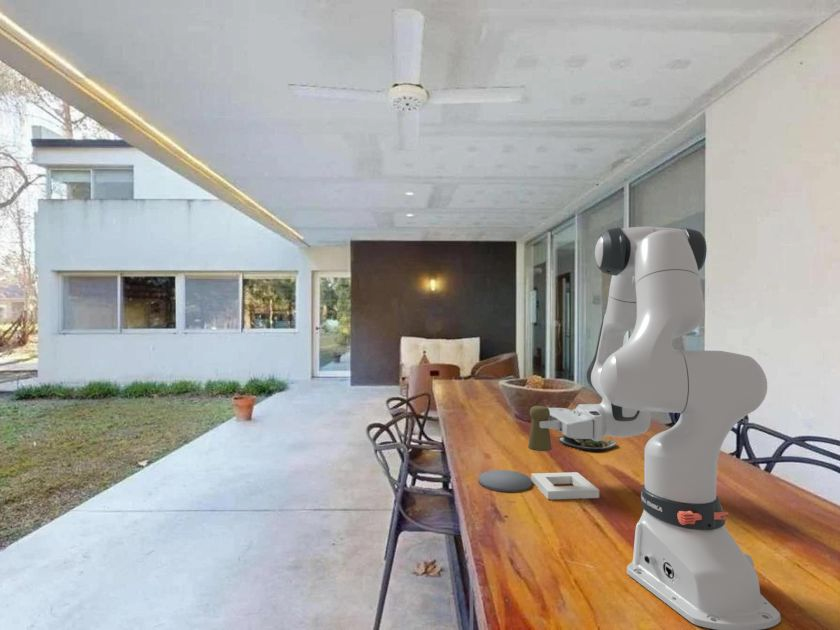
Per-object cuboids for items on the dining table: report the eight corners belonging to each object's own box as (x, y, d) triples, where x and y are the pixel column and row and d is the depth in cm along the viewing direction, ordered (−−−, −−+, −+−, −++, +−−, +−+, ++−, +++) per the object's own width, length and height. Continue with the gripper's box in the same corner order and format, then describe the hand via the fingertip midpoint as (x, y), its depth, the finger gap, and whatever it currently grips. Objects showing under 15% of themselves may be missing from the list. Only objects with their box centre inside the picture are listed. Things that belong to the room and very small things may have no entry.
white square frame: (599, 497, 115) (599, 489, 115) (547, 499, 114) (547, 491, 114) (577, 479, 128) (577, 472, 128) (531, 480, 127) (531, 473, 127)
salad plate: (583, 435, 177) (583, 423, 177) (627, 446, 162) (627, 432, 162) (550, 443, 166) (550, 430, 166) (594, 455, 151) (594, 441, 151)
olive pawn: (551, 452, 119) (550, 409, 119) (526, 450, 121) (526, 407, 121) (552, 446, 125) (552, 405, 125) (529, 444, 127) (529, 403, 127)
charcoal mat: (538, 491, 119) (538, 487, 119) (484, 492, 118) (484, 488, 118) (522, 472, 133) (522, 469, 133) (474, 474, 132) (474, 470, 132)
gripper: (571, 401, 135) (524, 402, 134) (604, 417, 114) (549, 418, 113) (571, 423, 135) (524, 424, 134) (604, 442, 114) (549, 444, 113)
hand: (536, 422), depth 123 cm, fingers closed on olive pawn, 4 cm apart
